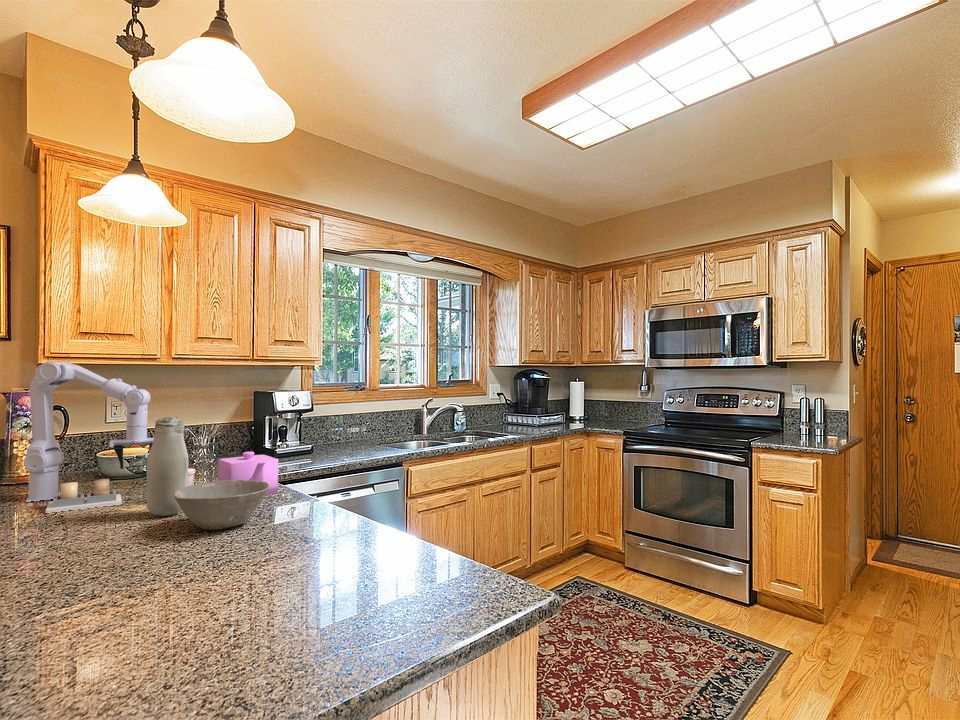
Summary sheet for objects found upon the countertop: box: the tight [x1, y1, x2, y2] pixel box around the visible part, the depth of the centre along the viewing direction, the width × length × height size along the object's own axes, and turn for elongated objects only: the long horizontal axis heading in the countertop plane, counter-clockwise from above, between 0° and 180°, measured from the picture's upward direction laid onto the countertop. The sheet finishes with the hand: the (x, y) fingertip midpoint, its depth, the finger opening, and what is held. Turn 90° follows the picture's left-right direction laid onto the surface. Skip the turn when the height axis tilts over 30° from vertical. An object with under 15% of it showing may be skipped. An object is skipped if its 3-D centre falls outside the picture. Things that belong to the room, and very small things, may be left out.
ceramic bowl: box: [174, 480, 270, 531], centre depth 139 cm, size 22×23×10 cm
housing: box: [45, 481, 123, 514], centre depth 159 cm, size 12×18×7 cm, turn 126°
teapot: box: [217, 451, 279, 496], centre depth 175 cm, size 15×25×14 cm, turn 44°
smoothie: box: [187, 467, 196, 486], centre depth 165 cm, size 6×6×14 cm
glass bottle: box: [145, 416, 189, 517], centre depth 149 cm, size 10×10×28 cm
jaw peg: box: [93, 478, 111, 496], centre depth 162 cm, size 4×4×6 cm
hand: (135, 467), depth 171 cm, fingers open, 7 cm apart
